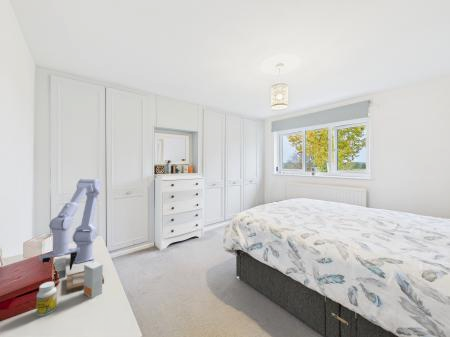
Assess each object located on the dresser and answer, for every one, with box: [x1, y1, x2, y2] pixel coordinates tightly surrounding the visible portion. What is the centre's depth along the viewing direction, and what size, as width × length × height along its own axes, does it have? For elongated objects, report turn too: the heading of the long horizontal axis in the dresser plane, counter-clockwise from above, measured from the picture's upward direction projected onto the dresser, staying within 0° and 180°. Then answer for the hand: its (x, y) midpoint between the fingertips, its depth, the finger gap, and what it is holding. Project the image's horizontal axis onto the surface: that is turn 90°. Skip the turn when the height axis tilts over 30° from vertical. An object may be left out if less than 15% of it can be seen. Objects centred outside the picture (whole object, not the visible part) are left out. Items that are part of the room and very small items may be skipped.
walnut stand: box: [66, 270, 105, 295], centre depth 90 cm, size 13×13×2 cm
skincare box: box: [83, 260, 104, 299], centre depth 82 cm, size 6×4×12 cm
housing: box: [54, 256, 67, 280], centre depth 94 cm, size 6×4×7 cm, turn 38°
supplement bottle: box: [36, 281, 58, 317], centre depth 71 cm, size 5×5×10 cm
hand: (60, 271), depth 94 cm, fingers open, 7 cm apart
